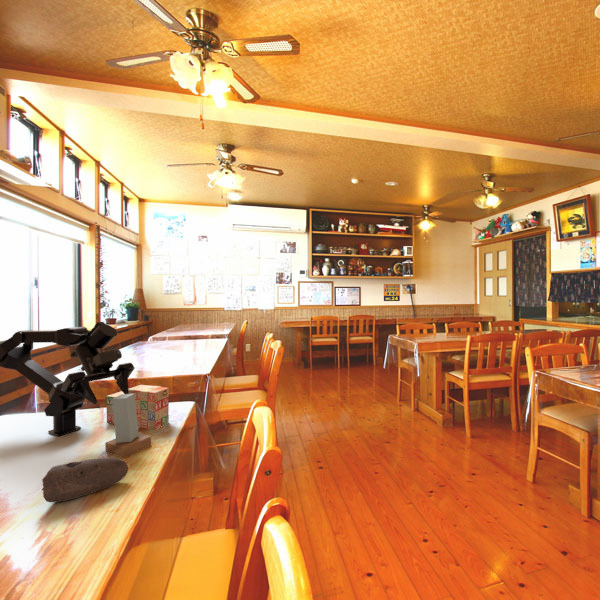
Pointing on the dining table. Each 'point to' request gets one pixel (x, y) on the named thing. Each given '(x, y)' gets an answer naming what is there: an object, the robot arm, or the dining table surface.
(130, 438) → the column
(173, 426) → the dining table surface
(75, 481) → the perforated stone tool
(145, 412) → the stack of blocks
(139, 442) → the base block
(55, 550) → the dining table surface
